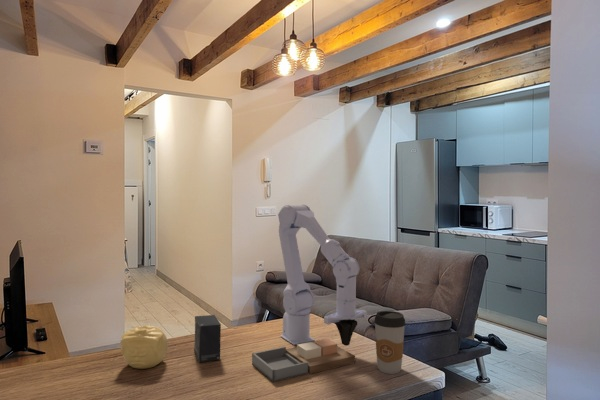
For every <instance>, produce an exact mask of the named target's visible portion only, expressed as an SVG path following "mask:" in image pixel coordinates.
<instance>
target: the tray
mask: <svg viewBox="0 0 600 400" xmlns="http://www.w3.org/2000/svg"><path fill="white" fill-rule="evenodd" d="M286 349H287V347H286V346H282V347H277V348H272V349H266V350H261V351H257V352H253V353H251V364H252V365H253V366H254V367H255V368H256V369H257V370H258V371H259V372H260V373H262V374H263V375H264V376H265V377H267V379H269V380H270V381H271V382H272V383H276V382H279V381H284V380H287V379H291V378H297V377H300V376H303V375H307V374H309V373H308V362H303V363H300V362H299V361H297V360H296V359H295V358H293V357H292V356H290V355H289V354H287V353H286Z"/></svg>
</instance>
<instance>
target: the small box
mask: <svg viewBox="0 0 600 400" xmlns="http://www.w3.org/2000/svg"><path fill="white" fill-rule="evenodd" d="M221 327H222V325H221V323H220V321H219V320H218V318H217V317H216V314H211V315H210V314H209V315H207V314H206V315H195V316H194V347H193V348H194V349H193V350H194V354H195V357H196V359H197V362H198V363H205V362H206V363H207V362H213V361H220V360H221V337H222V336H221V331H222V329H221Z"/></svg>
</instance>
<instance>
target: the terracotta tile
mask: <svg viewBox="0 0 600 400" xmlns="http://www.w3.org/2000/svg"><path fill="white" fill-rule="evenodd" d="M312 342H313V343H315V344H317V345H318V346H320V347H321V355H322V356H324V355H328V354H333V353H337V346H338V343H336V342H335V341H334V340H331V339H329V338H324V339H318V340H315V341H312Z"/></svg>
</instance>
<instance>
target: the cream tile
mask: <svg viewBox="0 0 600 400" xmlns="http://www.w3.org/2000/svg"><path fill="white" fill-rule="evenodd" d="M296 347H297V354H299V355H300V356H302V357H303V358H305V359H311V358H315V357H319V356H321V347H320V346H318V345H317V344H315V343H313V341H311V342H306V343H301V344H296Z"/></svg>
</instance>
